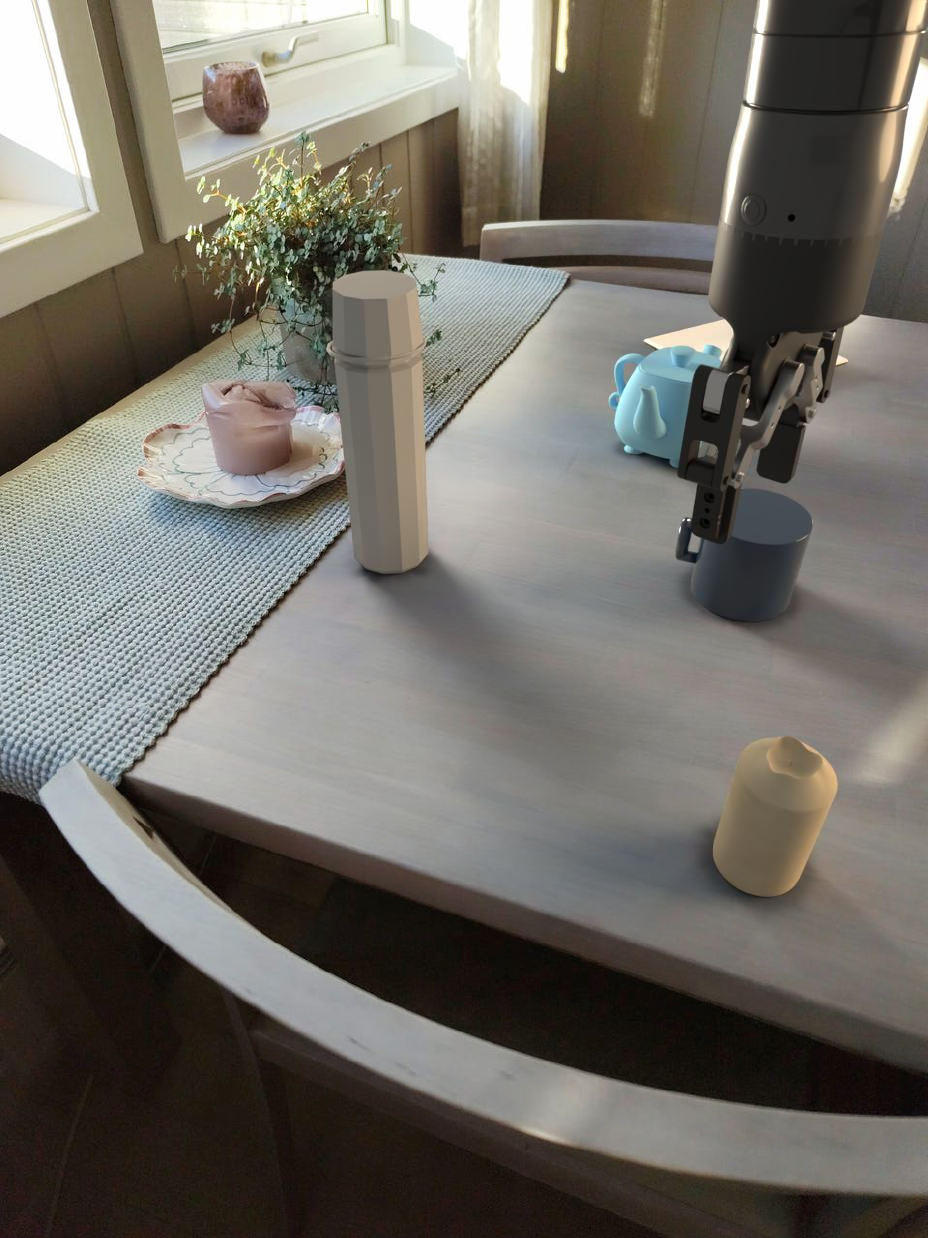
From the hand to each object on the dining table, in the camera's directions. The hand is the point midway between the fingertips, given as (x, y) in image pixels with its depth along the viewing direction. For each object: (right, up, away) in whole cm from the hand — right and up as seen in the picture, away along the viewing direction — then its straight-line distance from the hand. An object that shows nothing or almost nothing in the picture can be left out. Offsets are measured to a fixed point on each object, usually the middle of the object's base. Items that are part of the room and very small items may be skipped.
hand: (743, 506), depth 51 cm
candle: (+2, -22, +4) cm, 23 cm away
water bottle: (-24, 0, +31) cm, 39 cm away
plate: (+20, +27, +64) cm, 72 cm away
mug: (+8, -4, +26) cm, 27 cm away
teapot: (+7, +12, +46) cm, 48 cm away
